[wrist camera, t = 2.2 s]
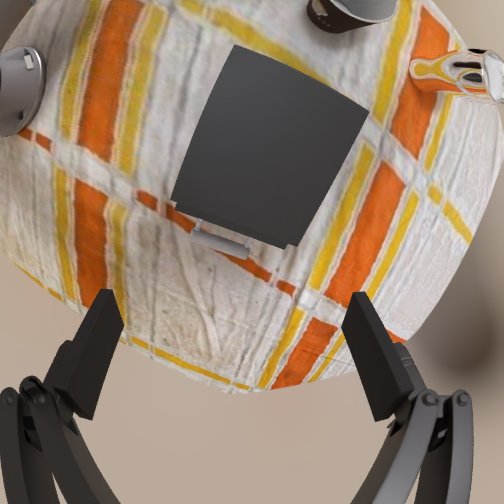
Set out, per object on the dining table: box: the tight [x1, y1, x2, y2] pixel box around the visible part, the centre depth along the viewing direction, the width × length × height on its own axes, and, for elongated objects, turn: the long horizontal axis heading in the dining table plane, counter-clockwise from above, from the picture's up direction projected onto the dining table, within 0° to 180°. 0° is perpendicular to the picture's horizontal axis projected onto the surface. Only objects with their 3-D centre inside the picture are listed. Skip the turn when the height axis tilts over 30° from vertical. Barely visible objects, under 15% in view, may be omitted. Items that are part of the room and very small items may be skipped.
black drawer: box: [175, 203, 288, 260], centre depth 28 cm, size 18×12×10 cm, turn 156°
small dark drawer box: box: [170, 45, 369, 247], centre depth 27 cm, size 15×13×12 cm
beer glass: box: [409, 49, 504, 106], centre depth 20 cm, size 7×7×15 cm
